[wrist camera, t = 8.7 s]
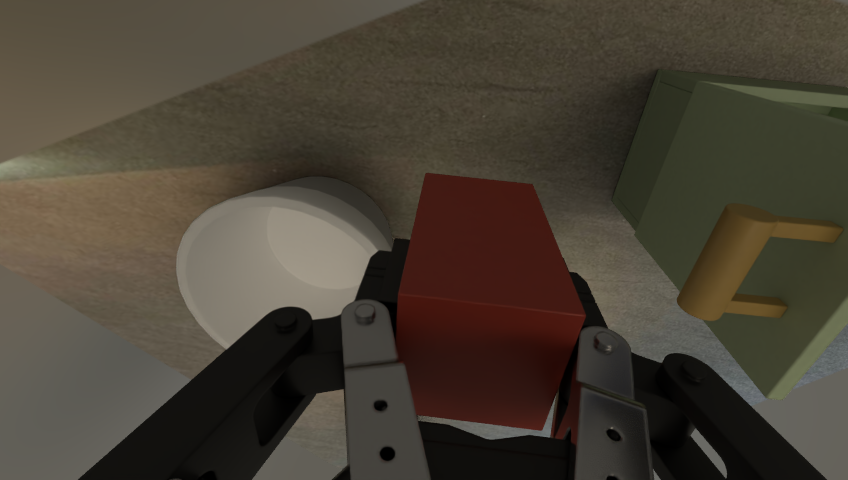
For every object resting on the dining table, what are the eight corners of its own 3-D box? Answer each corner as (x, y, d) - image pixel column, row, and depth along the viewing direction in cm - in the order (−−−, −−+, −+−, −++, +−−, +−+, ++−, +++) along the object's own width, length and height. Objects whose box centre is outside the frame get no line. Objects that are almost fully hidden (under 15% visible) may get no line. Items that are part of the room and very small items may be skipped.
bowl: (318, 107, 35) (267, 141, 26) (453, 250, 41) (451, 319, 32) (204, 225, 42) (132, 284, 33) (333, 331, 49) (303, 406, 40)
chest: (845, 87, 31) (927, 103, 25) (767, 217, 37) (820, 253, 31) (657, 69, 31) (699, 80, 26) (610, 200, 37) (636, 232, 32)
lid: (987, 159, 12) (819, 143, 12) (783, 401, 18) (670, 389, 18) (708, 82, 25) (628, 74, 26) (643, 236, 31) (578, 229, 31)
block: (425, 172, 16) (397, 293, 9) (533, 183, 16) (587, 315, 9) (418, 261, 18) (391, 412, 11) (512, 271, 18) (542, 431, 11)
